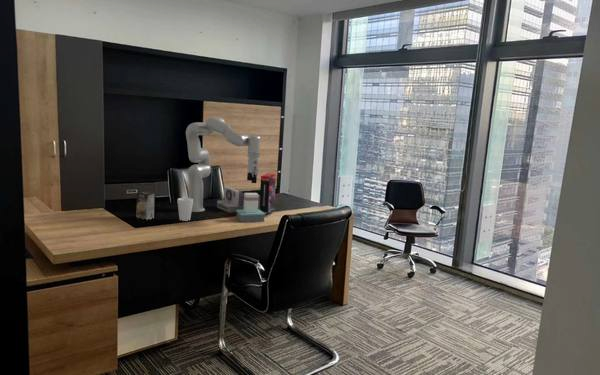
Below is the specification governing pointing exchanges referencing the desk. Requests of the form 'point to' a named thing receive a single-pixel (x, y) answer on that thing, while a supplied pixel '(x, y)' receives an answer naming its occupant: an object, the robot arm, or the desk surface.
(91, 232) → the desk surface
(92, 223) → the desk surface
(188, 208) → the foam cup
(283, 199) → the desk surface
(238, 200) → the instant camera
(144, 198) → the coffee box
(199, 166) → the robot arm
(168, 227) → the desk surface
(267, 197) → the graphics card box
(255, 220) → the podium
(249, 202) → the carton
